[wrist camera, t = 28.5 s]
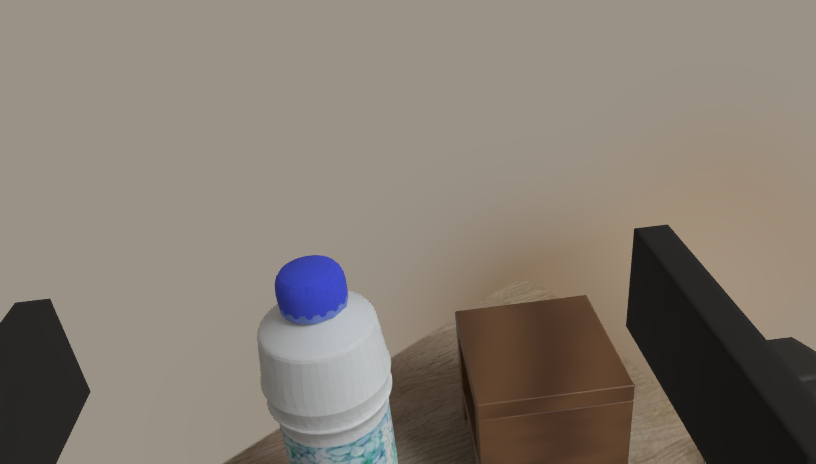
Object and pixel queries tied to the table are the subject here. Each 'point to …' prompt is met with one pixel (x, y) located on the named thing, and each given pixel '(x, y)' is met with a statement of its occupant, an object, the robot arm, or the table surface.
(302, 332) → the bottle
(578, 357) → the wooden nightstand
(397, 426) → the table surface
